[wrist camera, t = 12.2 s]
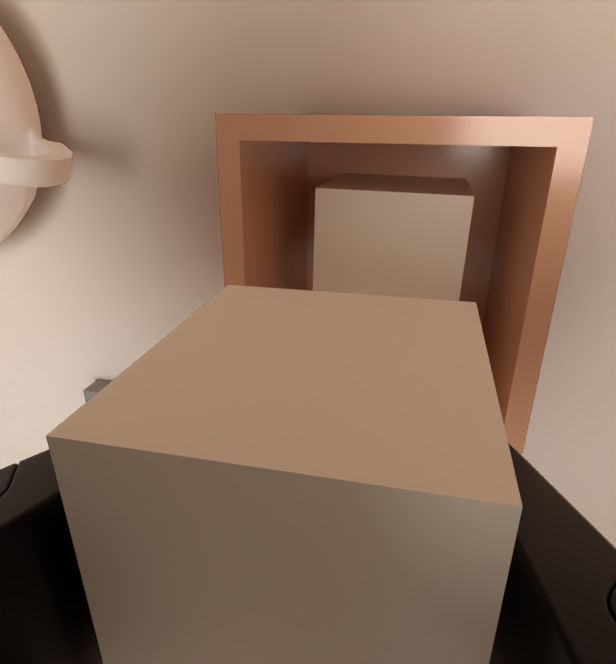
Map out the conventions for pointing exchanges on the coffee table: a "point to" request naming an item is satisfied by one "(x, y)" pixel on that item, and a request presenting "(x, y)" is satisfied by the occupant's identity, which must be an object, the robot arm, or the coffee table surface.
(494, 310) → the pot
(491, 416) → the block
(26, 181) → the teapot
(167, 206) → the coffee table surface
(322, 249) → the block
